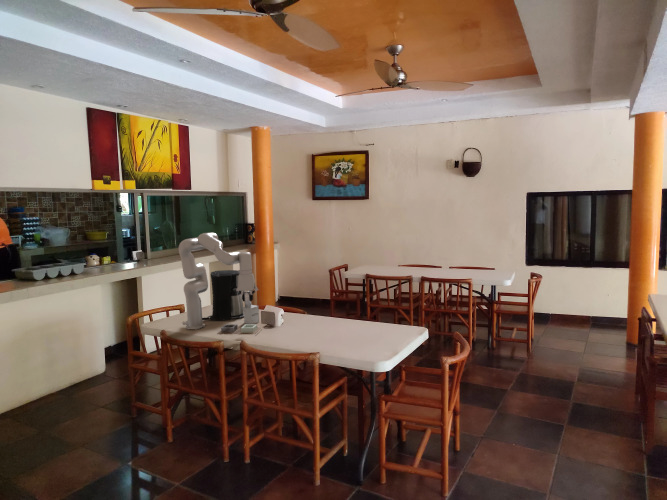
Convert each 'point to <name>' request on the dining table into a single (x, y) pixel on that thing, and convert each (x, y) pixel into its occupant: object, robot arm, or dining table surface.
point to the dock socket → (249, 328)
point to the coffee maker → (226, 296)
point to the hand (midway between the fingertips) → (247, 300)
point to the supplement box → (251, 314)
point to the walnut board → (233, 329)
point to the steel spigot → (247, 299)
